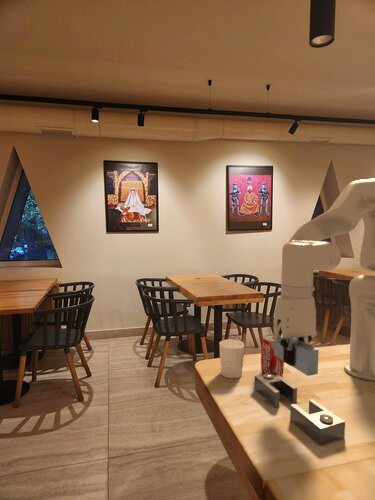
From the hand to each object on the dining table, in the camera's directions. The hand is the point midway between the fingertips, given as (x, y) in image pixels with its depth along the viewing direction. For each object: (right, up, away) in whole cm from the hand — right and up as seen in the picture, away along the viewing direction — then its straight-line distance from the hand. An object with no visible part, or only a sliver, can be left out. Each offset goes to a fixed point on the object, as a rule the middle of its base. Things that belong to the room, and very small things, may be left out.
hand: (294, 362), depth 83 cm
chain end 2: (+3, -14, -6) cm, 15 cm away
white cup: (-13, -12, +22) cm, 28 cm away
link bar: (0, 0, 0) cm, 1 cm away
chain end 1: (-3, -12, +9) cm, 15 cm away
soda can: (0, -12, +21) cm, 24 cm away
